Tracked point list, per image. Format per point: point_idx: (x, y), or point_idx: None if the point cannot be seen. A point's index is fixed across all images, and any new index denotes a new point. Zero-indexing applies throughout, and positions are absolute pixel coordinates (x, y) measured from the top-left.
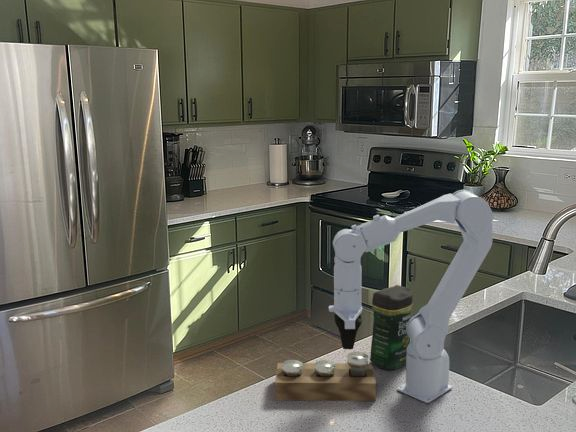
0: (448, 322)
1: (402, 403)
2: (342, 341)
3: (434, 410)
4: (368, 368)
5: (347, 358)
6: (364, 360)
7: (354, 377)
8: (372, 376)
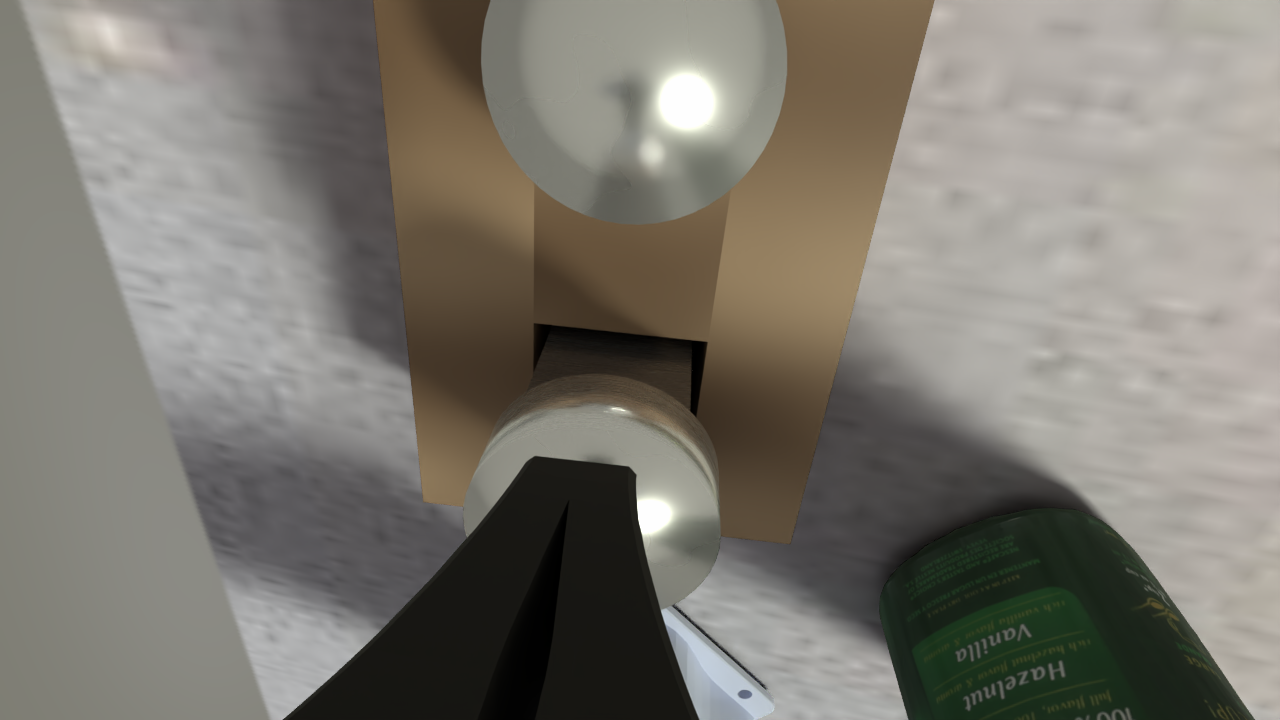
0: None
1: (454, 539)
2: (463, 551)
3: None
4: None
5: (582, 413)
6: None
7: (521, 364)
8: None
